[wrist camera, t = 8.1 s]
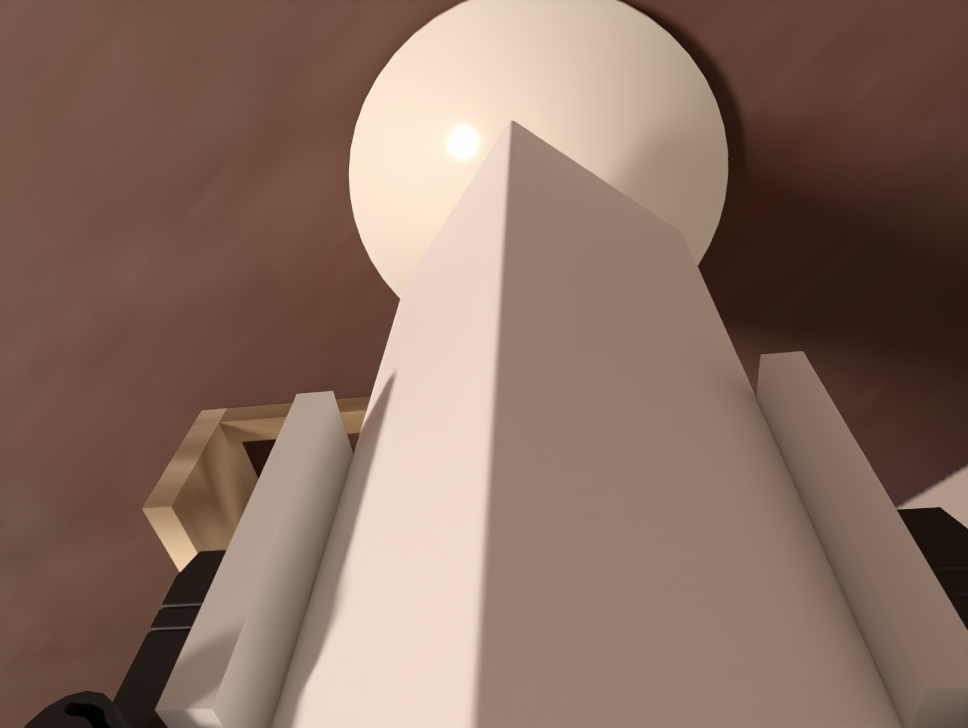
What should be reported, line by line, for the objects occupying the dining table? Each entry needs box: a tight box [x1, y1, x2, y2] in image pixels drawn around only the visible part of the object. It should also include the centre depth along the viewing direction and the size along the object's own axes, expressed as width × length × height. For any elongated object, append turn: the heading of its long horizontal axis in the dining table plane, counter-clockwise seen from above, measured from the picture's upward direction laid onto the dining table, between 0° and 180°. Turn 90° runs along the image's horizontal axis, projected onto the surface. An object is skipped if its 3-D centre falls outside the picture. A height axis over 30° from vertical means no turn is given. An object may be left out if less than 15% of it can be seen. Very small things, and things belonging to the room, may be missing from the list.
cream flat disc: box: [349, 0, 728, 299], centre depth 24 cm, size 13×13×1 cm
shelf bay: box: [142, 396, 371, 572], centre depth 32 cm, size 15×16×6 cm
